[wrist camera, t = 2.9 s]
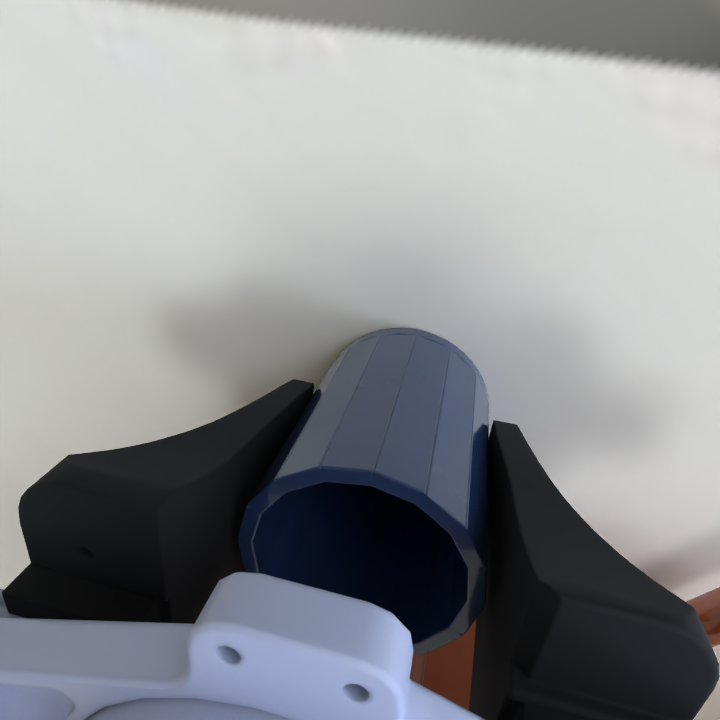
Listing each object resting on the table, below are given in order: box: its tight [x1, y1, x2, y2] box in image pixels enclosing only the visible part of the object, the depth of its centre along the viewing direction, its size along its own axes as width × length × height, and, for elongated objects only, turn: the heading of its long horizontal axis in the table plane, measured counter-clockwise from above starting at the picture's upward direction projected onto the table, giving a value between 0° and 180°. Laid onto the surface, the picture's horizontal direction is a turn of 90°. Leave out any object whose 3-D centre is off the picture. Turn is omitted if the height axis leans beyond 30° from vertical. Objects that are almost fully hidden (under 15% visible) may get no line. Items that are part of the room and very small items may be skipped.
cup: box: [237, 328, 489, 655], centre depth 13 cm, size 5×5×6 cm
